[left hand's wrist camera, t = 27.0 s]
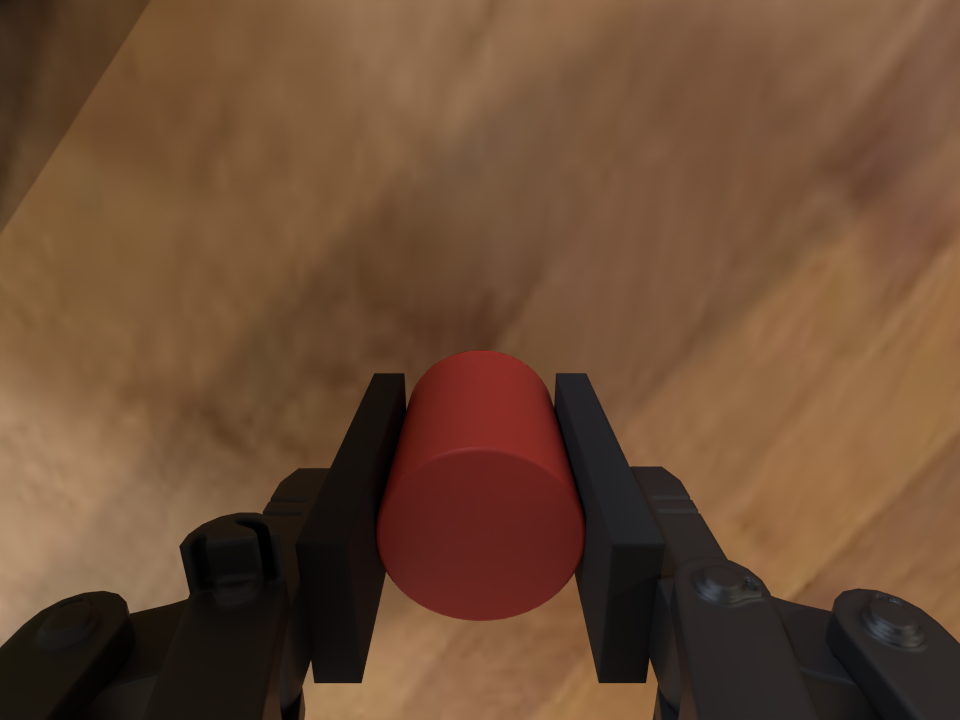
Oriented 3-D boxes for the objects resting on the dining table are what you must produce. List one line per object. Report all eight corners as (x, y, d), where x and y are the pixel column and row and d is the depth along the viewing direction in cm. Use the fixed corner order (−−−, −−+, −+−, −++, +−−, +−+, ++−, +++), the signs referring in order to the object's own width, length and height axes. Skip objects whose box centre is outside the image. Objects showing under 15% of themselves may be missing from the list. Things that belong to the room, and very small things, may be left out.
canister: (377, 403, 15) (330, 522, 10) (497, 319, 14) (505, 407, 9) (466, 503, 16) (460, 653, 11) (581, 431, 15) (626, 559, 10)
